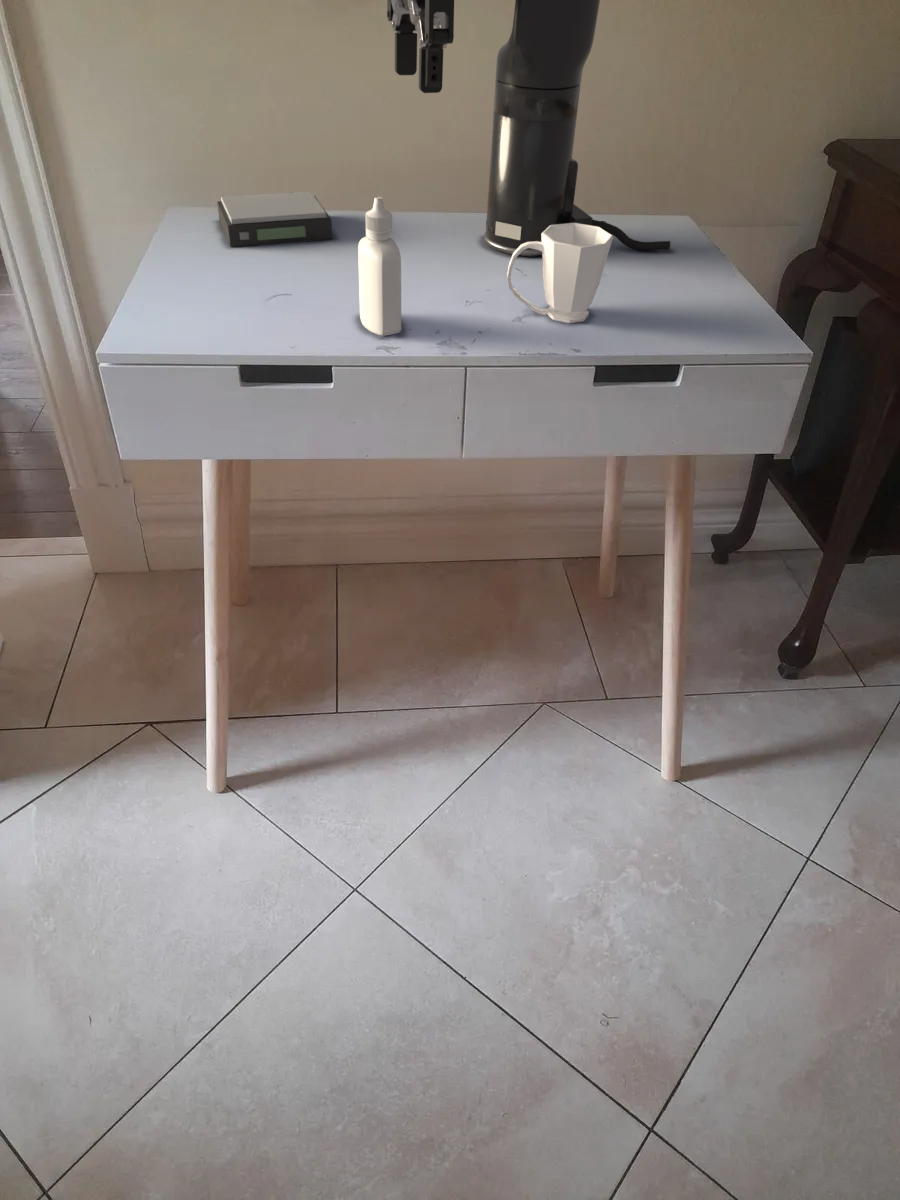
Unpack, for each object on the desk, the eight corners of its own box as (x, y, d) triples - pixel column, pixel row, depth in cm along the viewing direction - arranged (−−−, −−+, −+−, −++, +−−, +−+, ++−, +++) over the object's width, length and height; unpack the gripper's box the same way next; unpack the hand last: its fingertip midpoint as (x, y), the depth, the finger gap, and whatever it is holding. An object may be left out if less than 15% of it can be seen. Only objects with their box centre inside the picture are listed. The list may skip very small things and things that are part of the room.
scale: (315, 215, 112) (314, 190, 110) (332, 240, 105) (331, 213, 103) (219, 221, 109) (216, 195, 107) (230, 247, 102) (227, 221, 100)
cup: (605, 330, 89) (618, 248, 84) (505, 326, 89) (512, 243, 83) (597, 302, 94) (608, 223, 89) (503, 298, 94) (509, 219, 89)
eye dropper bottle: (404, 314, 90) (405, 189, 82) (400, 338, 85) (400, 208, 78) (361, 312, 90) (358, 187, 82) (354, 336, 85) (350, 206, 78)
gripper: (487, -116, 76) (475, 98, 86) (436, -124, 86) (431, 68, 96) (403, -120, 74) (401, 100, 84) (360, -128, 84) (364, 69, 94)
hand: (417, 83), depth 90 cm, fingers open, 8 cm apart
